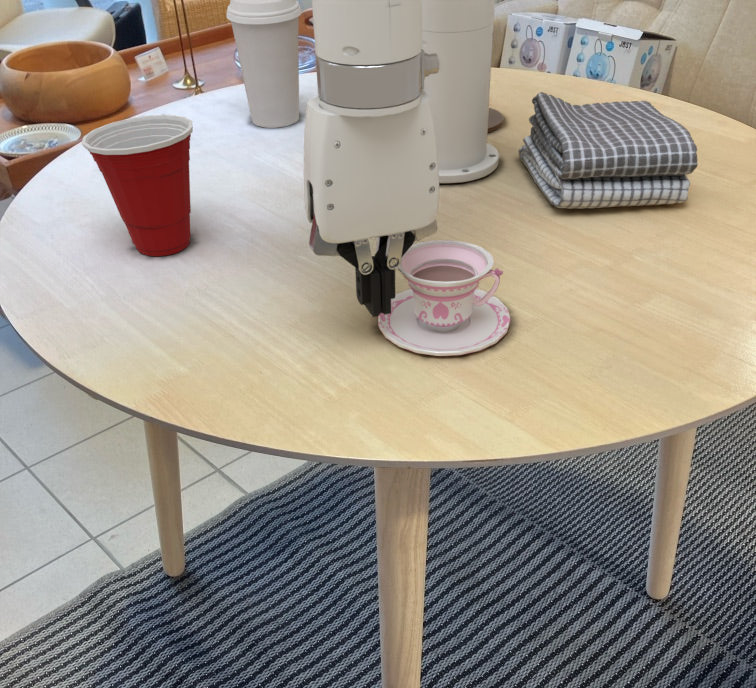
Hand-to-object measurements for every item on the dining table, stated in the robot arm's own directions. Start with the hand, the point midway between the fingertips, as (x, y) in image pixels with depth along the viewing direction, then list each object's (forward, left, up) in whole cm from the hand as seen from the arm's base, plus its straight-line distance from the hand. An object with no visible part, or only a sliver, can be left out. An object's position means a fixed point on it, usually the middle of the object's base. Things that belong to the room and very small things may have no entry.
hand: (376, 307), depth 74 cm
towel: (-22, +35, -3) cm, 42 cm away
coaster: (-46, +29, -3) cm, 54 cm away
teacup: (0, +7, -3) cm, 7 cm away
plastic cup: (-27, -15, -3) cm, 31 cm away
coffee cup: (-58, +6, -3) cm, 58 cm away
